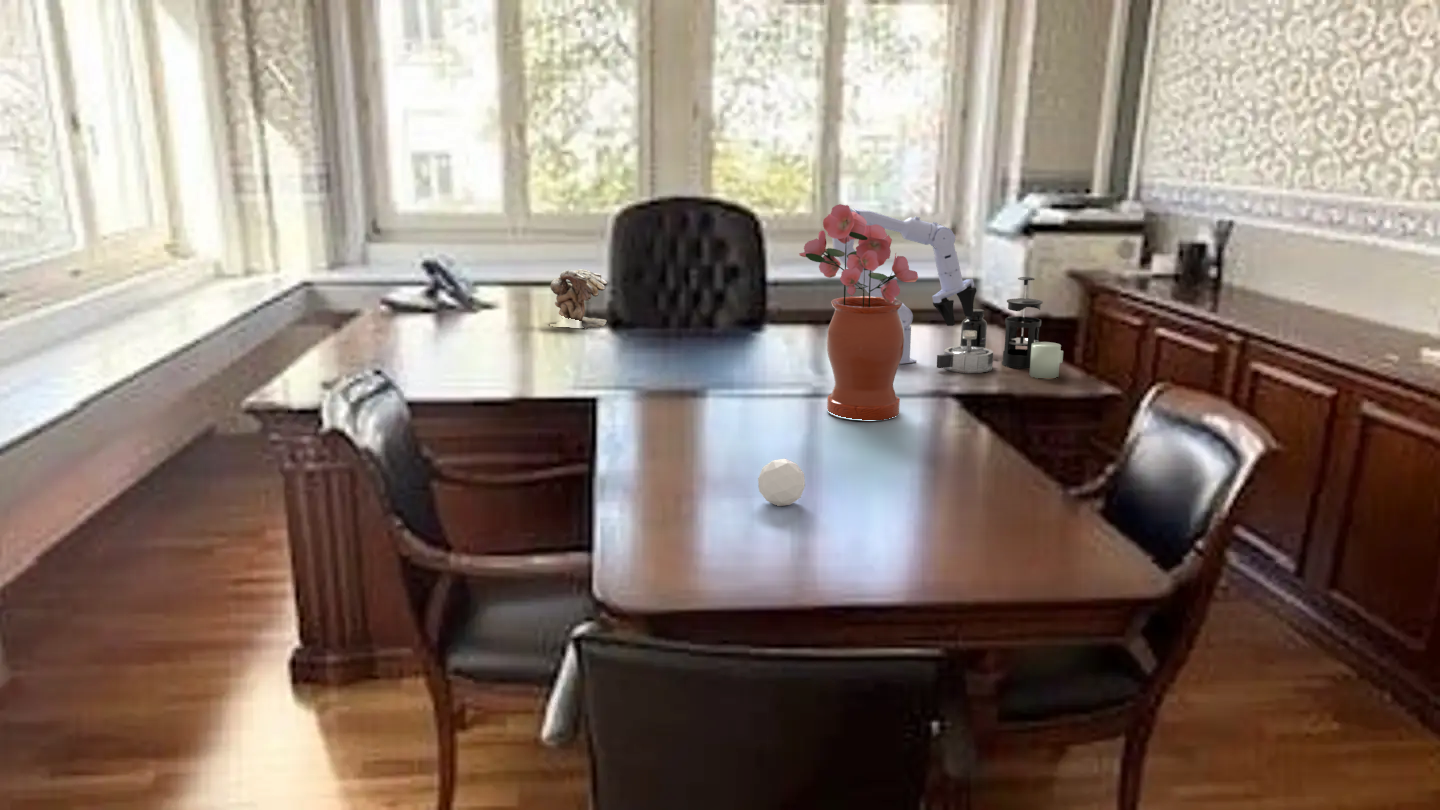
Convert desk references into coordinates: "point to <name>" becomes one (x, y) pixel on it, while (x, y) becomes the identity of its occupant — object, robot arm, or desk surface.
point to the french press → (1022, 356)
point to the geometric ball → (781, 482)
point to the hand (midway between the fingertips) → (960, 320)
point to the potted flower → (862, 318)
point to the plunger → (969, 344)
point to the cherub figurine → (577, 294)
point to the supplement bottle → (975, 328)
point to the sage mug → (1045, 359)
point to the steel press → (965, 361)
